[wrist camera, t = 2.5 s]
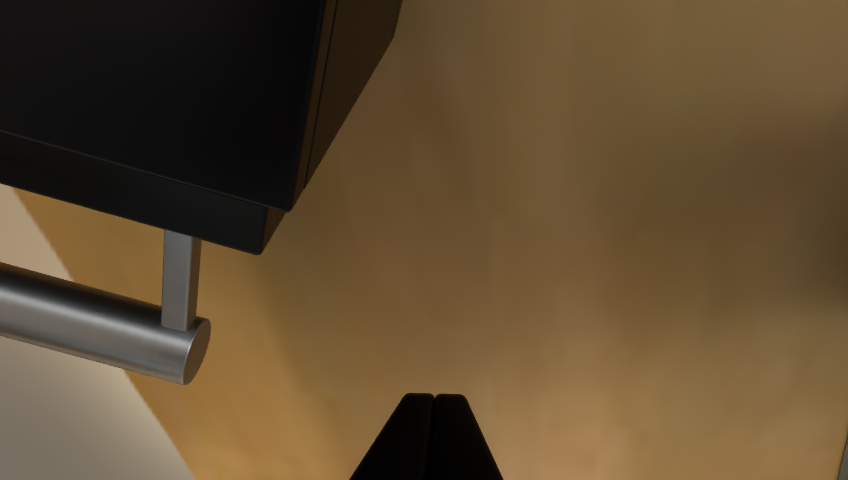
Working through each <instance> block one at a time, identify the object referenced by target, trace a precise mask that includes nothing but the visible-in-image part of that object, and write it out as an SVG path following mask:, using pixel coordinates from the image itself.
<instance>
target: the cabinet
mask: <svg viewBox="0 0 848 480" xmlns="http://www.w3.org/2000/svg"><path fill="white" fill-rule="evenodd" d="M401 4H402V0H0V131H1V132H5V133H8V134H12V135H15V136H19V137H22V138H26V139H29V140H33V141H36V142H40V143H43V144H47V145H51V146H54V147H58V148H61V149H65V150H68V151H72V152H75V153H79V154H82V155H86V156H89V157H93V158H96V159H100V160H103V161H107V162H110V163H114V164H117V165H121V166H125V167H128V168H132V169H135V170H139V171H142V172H146V173H149V174H153V175H156V176H160V177H163V178H167V179H170V180H174V181H177V182H181V183H184V184H188V185H191V186H195V187H198V188H202V189H206V190H209V191H213V192H216V193H220V194H223V195H227V196H230V197H234V198H237V199H241V200H244V201H248V202H251V203H255V204H258V205H262V206H265V207H269V208H272V209H276V210H279V211H283V212H289V211H291V210H292V208H293V207H294V205H295V203H296V201H297V200H298V198H299V196H300V195H301V193H302V191H303V189H304V188H305V187H306V185H307V184H308V182H309V180H310V179H311V177H312V175H313V174H314V172H315V170H316V168H317V167H318V165H319V163H320V162H321V160H322V158H323V157H324V155H325V153H326V151H327V150H328V148H329V146H330V145H331V143H332V141H333V140H334V138H335V136H336V134H337V133H338V131H339V129H340V128H341V126H342V124H343V123H344V121H345V119H346V118H347V116H348V114H349V112H350V111H351V109H352V107H353V106H354V104H355V102H356V101H357V99H358V97H359V95H360V94H361V92H362V90H363V89H364V87H365V85H366V84H367V82H368V80H369V78H370V77H371V75H372V73H373V72H374V70H375V68H376V67H377V65H378V63H379V61H380V60H381V58H382V56H383V55H384V53H385V51H386V50H387V48H388V46H389V44H390V42H391V41H392V39H393V37H394V34H395V30H396V26H397V21H398V17H399V13H400V8H401Z"/></svg>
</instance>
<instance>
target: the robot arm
mask: <svg viewBox="0 0 848 480" xmlns="http://www.w3.org/2000/svg"><path fill="white" fill-rule="evenodd" d="M349 480H503V478H502V476H501V473H500V471H499V469H498V467H497V465H496V462H495V460H494V458H493V456H492V454H491V452H490V449H489V447H488V445H487V443H486V441H485V438H484V436H483V434H482V432H481V430H480V427H479V425H478V423H477V421H476V419H475V416H474V414H473V412H472V410H471V408H470V405H469V403H468V401H467V399H466V398H465V396H464V395H461V394H438V395H437V396H436V397H434V396H433V395H432V394H430V393H408V394H406V395H405V396H404V397H403V398H402V399H401V401H400V403H399V404H398V406H397V407H396V409H395V410H394V412H393V413H392V415H391V416H390V418H389V419H388V421H387V422H386V424H385V426H384V427H383V429H382V430H381V432H380V433H379V435H378V436H377V438H376V439H375V441H374V442H373V444H372V445H371V447H370V449H369V450H368V452H367V453H366V455H365V456H364V458H363V459H362V461H361V462H360V464H359V465H358V467H357V468H356V470H355V472H354V473H353V475H352V476H351V478H350V479H349Z"/></svg>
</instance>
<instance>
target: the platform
mask: <svg viewBox="0 0 848 480" xmlns="http://www.w3.org/2000/svg"><path fill="white" fill-rule="evenodd" d="M838 480H848V440H847V444H846V449H845V453H844V457H843V461H842V465H841V469H840V473H839V477H838Z"/></svg>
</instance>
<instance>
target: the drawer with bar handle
mask: <svg viewBox="0 0 848 480" xmlns="http://www.w3.org/2000/svg"><path fill="white" fill-rule="evenodd" d="M0 183H1V184H4V185H8V186H11V187H15V188H18V189H22V190H26V191H29V192H33V193H36V194H40V195H43V196H47V197H51V198H54V199H58V200H61V201H65V202H68V203H72V204H75V205H79V206H83V207H86V208H90V209H93V210H97V211H100V212H104V213H108V214H111V215H115V216H118V217H122V218H125V219H129V220H133V221H136V222H140V223H143V224H147V225H150V226H154V227H158V228H161V229H164V258H163V287H162V306H159V305H155V304H151V303H148V302H144V301H140V300H137V299H133V298H129V297H126V296H122V295H119V294H115V293H111V292H108V291H104V290H100V289H97V288H93V287H89V286H86V285H82V284H79V283H75V282H71V281H68V280H64V279H60V278H56V277H53V276H49V275H46V274H42V273H38V272H35V271H31V270H28V269H24V268H20V267H17V266H13V265H9V264H6V263H2V262H0V336H4V337H7V338H11V339H15V340H18V341H22V342H26V343H29V344H33V345H37V346H40V347H44V348H48V349H51V350H55V351H59V352H63V353H66V354H70V355H74V356H77V357H81V358H85V359H89V360H92V361H96V362H99V363H103V364H107V365H111V366H114V367H118V368H122V369H125V370H129V371H133V372H137V373H140V374H144V375H148V376H151V377H155V378H159V379H163V380H166V381H170V382H174V383H177V384H181V385H188V384H189V383H190V382H191V381H192V380H193V378H194V377H195V375H196V374H197V372H198V370H199V368H200V366H201V364H202V362H203V359H204V356H205V354H206V351H207V347H208V344H209V340H210V334H211V323H210V321H209V320H208V319H206V318H202V317H199V316H196V310H197V297H198V284H199V270H200V257H201V243H202V240H204V241H207V242H211V243H215V244H218V245H222V246H225V247H229V248H232V249H236V250H240V251H243V252H247V253H250V254H254V255H260V254H261V253H262V252H263V250H264V248H265V247H266V245H267V243H268V242H269V240H270V238H271V237H272V235H273V233H274V232H275V230H276V228H277V227H278V225H279V223H280V222H281V220H282V218H283V217H284V215H285V213H286V212H283V211H279V210H276V209H272V208H269V207H265V206H262V205H258V204H255V203H251V202H248V201H244V200H241V199H237V198H234V197H230V196H227V195H223V194H220V193H216V192H213V191H209V190H206V189H202V188H198V187H195V186H191V185H188V184H184V183H181V182H177V181H174V180H170V179H167V178H163V177H160V176H156V175H153V174H149V173H146V172H142V171H139V170H135V169H132V168H128V167H125V166H121V165H117V164H114V163H110V162H107V161H103V160H100V159H96V158H93V157H89V156H86V155H82V154H79V153H75V152H72V151H68V150H65V149H61V148H58V147H54V146H51V145H47V144H43V143H40V142H36V141H33V140H29V139H26V138H22V137H19V136H15V135H12V134H8V133H5V132H1V131H0Z"/></svg>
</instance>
